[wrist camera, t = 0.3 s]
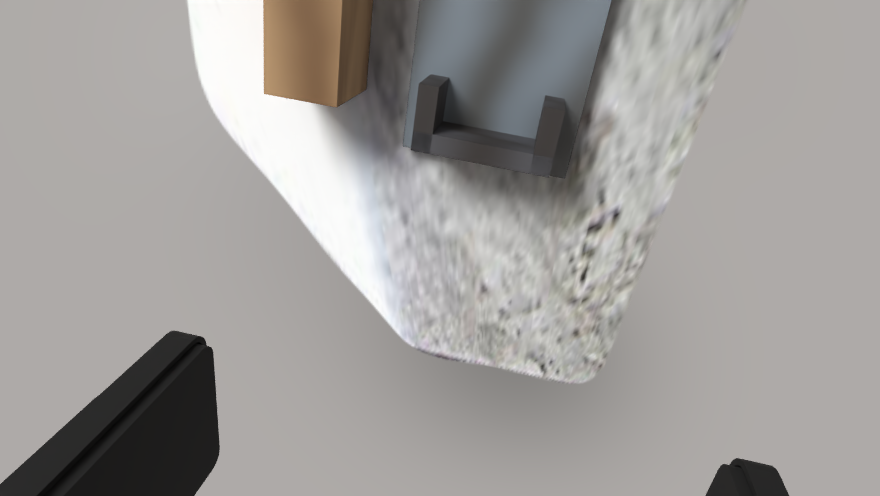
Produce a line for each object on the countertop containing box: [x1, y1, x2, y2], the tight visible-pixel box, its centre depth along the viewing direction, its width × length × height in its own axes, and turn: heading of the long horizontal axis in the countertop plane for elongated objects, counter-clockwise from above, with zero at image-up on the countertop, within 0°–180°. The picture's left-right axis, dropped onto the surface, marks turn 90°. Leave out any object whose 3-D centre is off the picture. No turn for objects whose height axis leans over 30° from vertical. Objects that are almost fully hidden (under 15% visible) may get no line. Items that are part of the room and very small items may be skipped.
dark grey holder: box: [403, 0, 611, 178], centre depth 32 cm, size 11×20×5 cm, turn 171°
